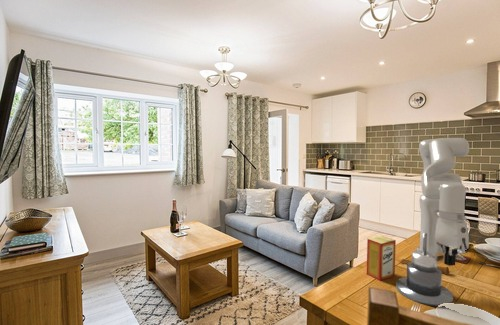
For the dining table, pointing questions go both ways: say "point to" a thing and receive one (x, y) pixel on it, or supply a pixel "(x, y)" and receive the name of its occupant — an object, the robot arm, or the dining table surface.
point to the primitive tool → (443, 269)
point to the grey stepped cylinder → (424, 287)
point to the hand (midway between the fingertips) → (449, 264)
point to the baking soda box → (381, 257)
